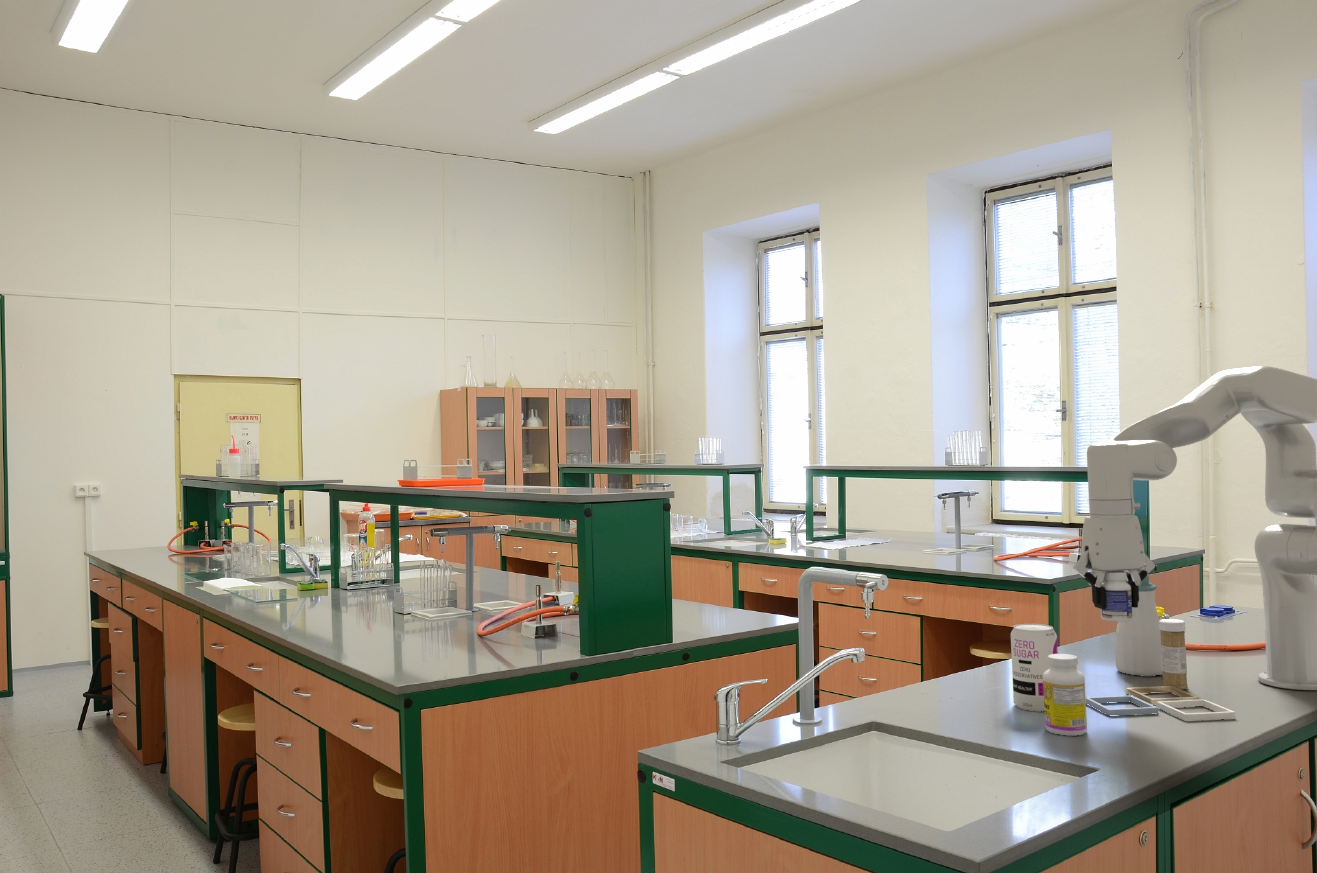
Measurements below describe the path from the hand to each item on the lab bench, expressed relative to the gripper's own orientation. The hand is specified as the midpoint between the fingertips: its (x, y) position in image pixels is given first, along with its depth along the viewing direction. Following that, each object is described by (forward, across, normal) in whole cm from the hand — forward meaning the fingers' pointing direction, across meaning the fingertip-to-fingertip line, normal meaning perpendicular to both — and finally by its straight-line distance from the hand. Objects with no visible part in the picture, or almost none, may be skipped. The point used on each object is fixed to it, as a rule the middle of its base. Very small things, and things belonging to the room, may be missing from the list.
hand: (1115, 606), depth 177 cm
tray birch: (+19, -11, -6) cm, 23 cm away
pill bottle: (+3, 0, 0) cm, 3 cm away
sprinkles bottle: (+19, -18, -13) cm, 29 cm away
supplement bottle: (+19, +16, +12) cm, 28 cm away
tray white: (+19, -11, +5) cm, 22 cm away
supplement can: (+19, +14, -4) cm, 24 cm away
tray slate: (+19, 0, 0) cm, 19 cm away
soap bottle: (+19, -19, -27) cm, 38 cm away
